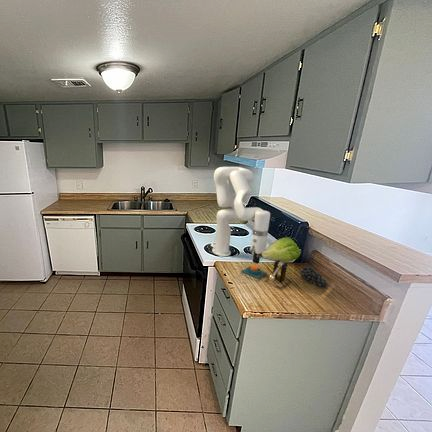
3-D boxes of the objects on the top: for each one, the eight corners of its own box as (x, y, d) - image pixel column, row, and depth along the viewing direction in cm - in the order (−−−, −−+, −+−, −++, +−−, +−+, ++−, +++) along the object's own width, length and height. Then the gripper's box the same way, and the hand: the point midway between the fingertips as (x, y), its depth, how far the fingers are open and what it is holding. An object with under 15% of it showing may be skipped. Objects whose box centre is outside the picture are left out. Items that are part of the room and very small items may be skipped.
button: (249, 269, 140) (249, 266, 140) (252, 267, 143) (253, 264, 142) (255, 272, 137) (256, 269, 137) (259, 269, 140) (259, 267, 139)
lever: (273, 283, 127) (273, 279, 125) (267, 280, 129) (267, 276, 127) (285, 266, 132) (284, 262, 130) (278, 264, 134) (278, 260, 133)
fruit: (333, 275, 123) (308, 261, 137) (319, 281, 123) (296, 267, 137) (333, 288, 126) (309, 274, 140) (320, 294, 126) (297, 279, 140)
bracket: (281, 288, 128) (285, 268, 124) (264, 281, 134) (267, 262, 131) (290, 281, 135) (294, 262, 132) (274, 275, 142) (277, 256, 138)
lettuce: (269, 270, 154) (258, 261, 170) (308, 260, 152) (294, 251, 168) (264, 249, 152) (254, 241, 167) (304, 238, 150) (290, 231, 165)
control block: (240, 274, 142) (241, 268, 141) (249, 269, 148) (250, 263, 147) (257, 281, 134) (258, 275, 133) (266, 275, 140) (267, 269, 139)
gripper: (260, 237, 126) (255, 268, 131) (273, 231, 135) (268, 261, 140) (246, 233, 132) (242, 263, 137) (259, 228, 141) (255, 257, 146)
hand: (255, 262), depth 139 cm, fingers closed
